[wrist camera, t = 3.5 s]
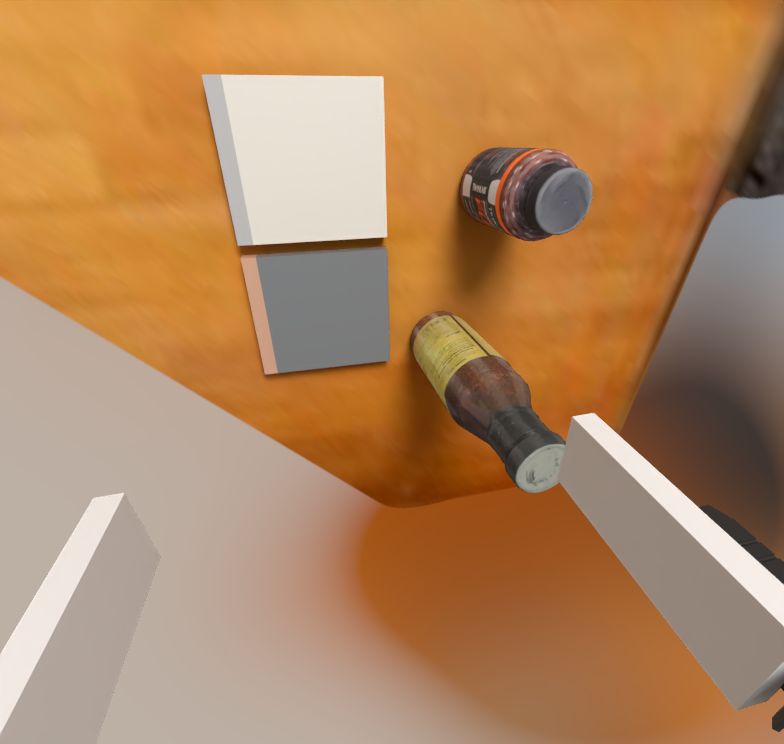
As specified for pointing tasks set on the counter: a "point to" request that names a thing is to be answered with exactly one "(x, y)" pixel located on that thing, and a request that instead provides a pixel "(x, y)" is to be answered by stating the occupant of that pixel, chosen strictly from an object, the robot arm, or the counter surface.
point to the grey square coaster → (319, 307)
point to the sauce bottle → (487, 399)
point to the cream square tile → (301, 155)
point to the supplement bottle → (526, 192)
